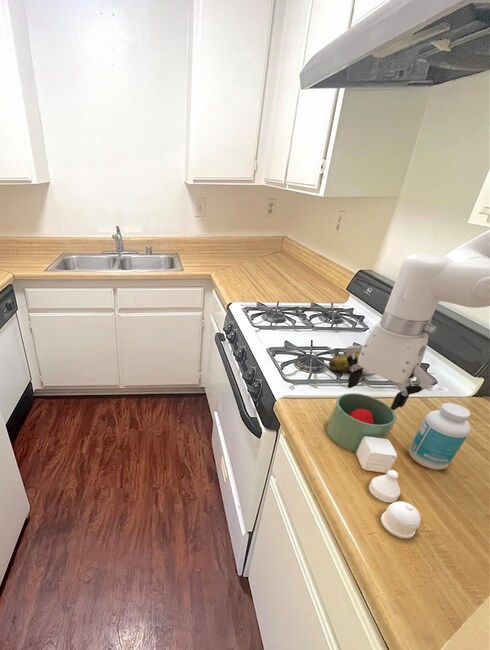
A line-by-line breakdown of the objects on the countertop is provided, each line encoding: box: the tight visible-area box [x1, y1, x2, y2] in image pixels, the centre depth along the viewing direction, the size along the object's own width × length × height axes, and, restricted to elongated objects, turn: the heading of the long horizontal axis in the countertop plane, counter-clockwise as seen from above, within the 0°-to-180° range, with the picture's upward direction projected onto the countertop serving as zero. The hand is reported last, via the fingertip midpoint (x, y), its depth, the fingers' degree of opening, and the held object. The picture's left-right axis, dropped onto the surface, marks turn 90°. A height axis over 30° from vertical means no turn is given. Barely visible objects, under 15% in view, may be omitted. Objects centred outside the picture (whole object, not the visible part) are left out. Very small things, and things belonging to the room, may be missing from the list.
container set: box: [356, 436, 422, 539], centre depth 66 cm, size 20×5×6 cm, turn 170°
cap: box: [348, 409, 374, 424], centre depth 79 cm, size 8×6×6 cm
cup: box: [326, 392, 397, 453], centre depth 79 cm, size 12×12×8 cm
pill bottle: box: [408, 402, 472, 471], centre depth 72 cm, size 8×7×14 cm
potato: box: [328, 352, 365, 372], centre depth 104 cm, size 8×13×8 cm, turn 65°
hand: (372, 396), depth 75 cm, fingers open, 9 cm apart
